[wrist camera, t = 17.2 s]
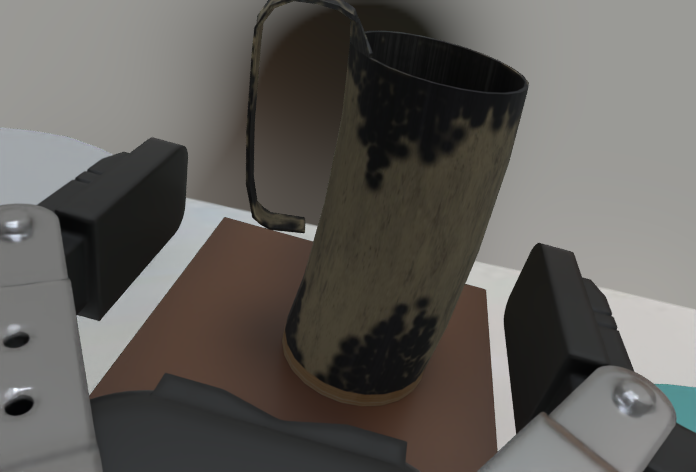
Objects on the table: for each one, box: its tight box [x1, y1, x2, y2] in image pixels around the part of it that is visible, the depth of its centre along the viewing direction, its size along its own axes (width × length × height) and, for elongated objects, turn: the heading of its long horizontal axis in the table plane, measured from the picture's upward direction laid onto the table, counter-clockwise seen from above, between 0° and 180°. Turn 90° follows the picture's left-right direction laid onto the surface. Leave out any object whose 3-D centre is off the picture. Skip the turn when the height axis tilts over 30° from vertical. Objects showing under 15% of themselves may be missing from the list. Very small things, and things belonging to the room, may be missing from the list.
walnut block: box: [89, 217, 497, 472], centre depth 22 cm, size 13×13×5 cm
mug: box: [246, 0, 529, 406], centre depth 17 cm, size 8×6×12 cm
